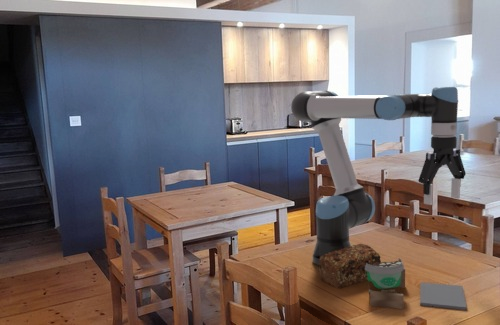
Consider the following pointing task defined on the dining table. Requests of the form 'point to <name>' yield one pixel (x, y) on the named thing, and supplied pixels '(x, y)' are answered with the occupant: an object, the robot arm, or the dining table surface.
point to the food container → (384, 276)
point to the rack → (388, 297)
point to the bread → (347, 265)
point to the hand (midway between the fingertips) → (442, 201)
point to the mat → (442, 296)
